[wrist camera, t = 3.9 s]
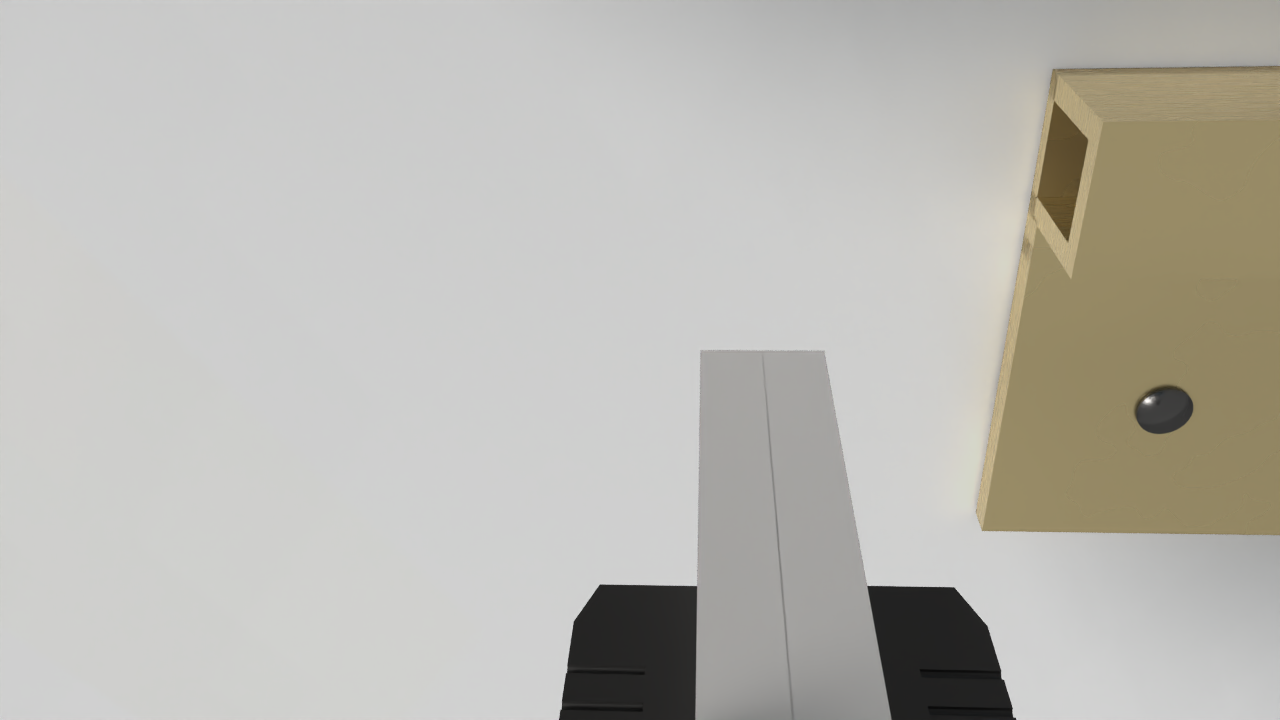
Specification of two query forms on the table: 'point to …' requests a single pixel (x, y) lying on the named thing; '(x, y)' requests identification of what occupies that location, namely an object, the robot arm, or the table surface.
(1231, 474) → the brass leaf
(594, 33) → the table surface
